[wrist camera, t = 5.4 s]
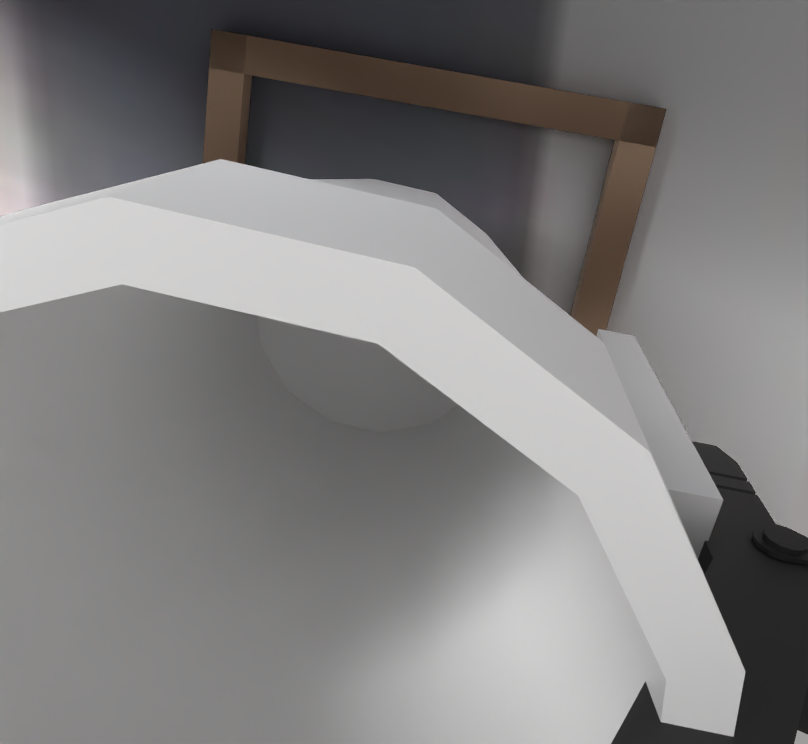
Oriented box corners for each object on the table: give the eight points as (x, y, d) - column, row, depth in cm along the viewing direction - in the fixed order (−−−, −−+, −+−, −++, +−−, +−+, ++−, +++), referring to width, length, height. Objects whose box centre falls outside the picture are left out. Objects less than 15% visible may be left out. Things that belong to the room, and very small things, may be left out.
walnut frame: (221, 30, 22) (211, 29, 21) (660, 108, 21) (666, 109, 20) (161, 882, 35) (154, 899, 34) (434, 942, 34) (433, 961, 33)
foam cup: (463, 532, 21) (429, 1155, 9) (150, 390, 20) (-337, 852, 8) (649, 219, 17) (1005, 550, 5) (276, 34, 17) (-253, -52, 5)
